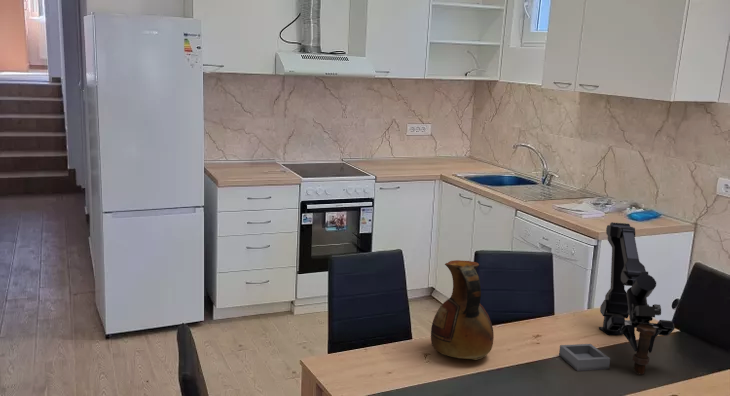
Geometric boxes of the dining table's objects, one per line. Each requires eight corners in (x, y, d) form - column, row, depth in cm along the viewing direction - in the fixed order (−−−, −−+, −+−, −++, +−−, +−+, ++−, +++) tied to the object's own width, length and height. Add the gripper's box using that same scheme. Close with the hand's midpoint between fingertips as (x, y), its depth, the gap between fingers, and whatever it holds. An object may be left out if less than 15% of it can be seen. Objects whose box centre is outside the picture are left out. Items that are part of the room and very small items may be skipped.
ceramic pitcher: (473, 338, 220) (481, 253, 214) (503, 364, 201) (513, 271, 195) (419, 343, 214) (426, 255, 208) (446, 370, 195) (454, 274, 189)
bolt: (645, 370, 203) (653, 325, 200) (650, 377, 198) (659, 331, 195) (626, 367, 204) (634, 322, 201) (631, 375, 199) (639, 329, 196)
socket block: (558, 355, 210) (560, 345, 210) (589, 353, 213) (590, 343, 212) (577, 370, 200) (578, 360, 199) (608, 369, 202) (610, 358, 202)
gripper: (614, 290, 201) (618, 338, 192) (677, 296, 199) (684, 344, 190) (604, 306, 210) (608, 352, 202) (664, 311, 208) (671, 358, 200)
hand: (643, 351), depth 198 cm, fingers closed on bolt, 4 cm apart
